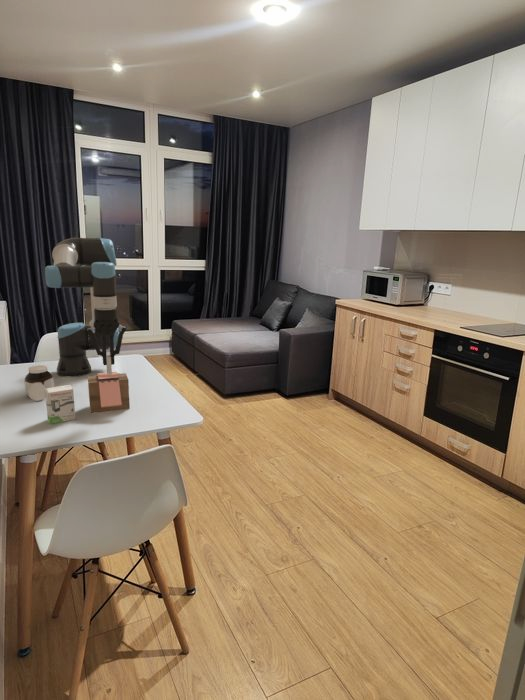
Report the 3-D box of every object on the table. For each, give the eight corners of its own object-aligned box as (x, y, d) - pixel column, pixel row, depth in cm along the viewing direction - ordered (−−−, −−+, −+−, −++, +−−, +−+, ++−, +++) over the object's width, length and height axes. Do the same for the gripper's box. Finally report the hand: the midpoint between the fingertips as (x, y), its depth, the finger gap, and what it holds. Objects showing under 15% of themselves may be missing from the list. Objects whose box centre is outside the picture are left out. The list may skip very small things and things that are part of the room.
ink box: (50, 424, 153) (47, 392, 150) (47, 419, 156) (44, 388, 154) (76, 419, 157) (73, 388, 154) (73, 414, 161) (70, 384, 158)
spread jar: (47, 389, 186) (44, 363, 183) (62, 395, 180) (59, 368, 177) (18, 397, 176) (15, 369, 173) (33, 403, 170) (30, 375, 167)
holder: (89, 405, 170) (87, 373, 167) (127, 401, 175) (125, 370, 172) (90, 413, 163) (88, 380, 159) (129, 408, 168) (128, 376, 165)
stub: (98, 382, 161) (98, 381, 160) (118, 380, 164) (118, 379, 163) (101, 407, 157) (101, 406, 156) (121, 405, 159) (121, 404, 159)
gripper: (85, 310, 144) (90, 378, 150) (126, 309, 149) (129, 374, 155) (84, 306, 151) (89, 371, 157) (124, 305, 156) (127, 368, 162)
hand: (109, 373), depth 156 cm, fingers closed
